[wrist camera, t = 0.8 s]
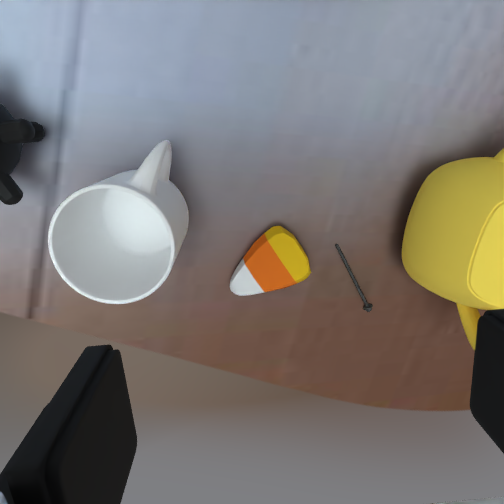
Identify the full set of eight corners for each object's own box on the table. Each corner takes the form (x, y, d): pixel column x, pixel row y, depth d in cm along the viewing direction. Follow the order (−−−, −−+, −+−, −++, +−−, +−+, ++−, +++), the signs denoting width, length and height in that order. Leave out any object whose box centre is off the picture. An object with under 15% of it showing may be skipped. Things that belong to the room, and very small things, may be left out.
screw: (363, 313, 42) (365, 308, 43) (373, 312, 41) (374, 306, 42) (330, 247, 40) (332, 243, 40) (339, 244, 39) (341, 240, 40)
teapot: (566, 122, 37) (720, 120, 26) (490, 318, 43) (588, 391, 31) (427, 92, 36) (523, 77, 24) (368, 299, 42) (422, 368, 30)
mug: (221, 160, 37) (216, 173, 27) (168, 272, 40) (146, 322, 30) (131, 115, 36) (91, 111, 26) (83, 235, 39) (30, 274, 28)
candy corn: (319, 275, 37) (247, 320, 39) (316, 267, 40) (248, 309, 42) (284, 221, 37) (211, 269, 38) (283, 217, 39) (215, 261, 41)
